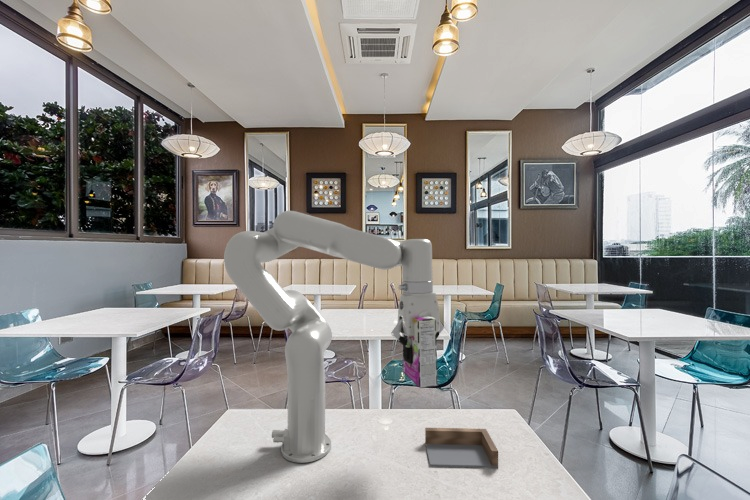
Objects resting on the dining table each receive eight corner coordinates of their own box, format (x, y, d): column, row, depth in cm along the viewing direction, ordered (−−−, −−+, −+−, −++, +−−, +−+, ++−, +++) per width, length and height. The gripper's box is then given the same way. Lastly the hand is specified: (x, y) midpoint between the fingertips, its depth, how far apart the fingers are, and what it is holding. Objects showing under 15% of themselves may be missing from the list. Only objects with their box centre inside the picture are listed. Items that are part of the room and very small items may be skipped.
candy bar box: (401, 373, 90) (400, 311, 90) (419, 370, 92) (418, 309, 92) (418, 389, 80) (417, 319, 80) (438, 386, 81) (437, 317, 81)
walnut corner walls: (430, 466, 81) (430, 449, 81) (425, 442, 91) (425, 427, 91) (498, 468, 80) (498, 451, 80) (485, 443, 90) (485, 428, 90)
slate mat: (430, 466, 81) (430, 464, 81) (425, 442, 91) (425, 440, 91) (498, 468, 80) (498, 466, 80) (485, 443, 90) (485, 442, 90)
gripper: (395, 292, 79) (396, 370, 79) (454, 287, 86) (455, 358, 86) (380, 289, 85) (381, 361, 85) (436, 284, 93) (437, 351, 93)
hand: (418, 359), depth 86 cm, fingers closed on candy bar box, 5 cm apart
